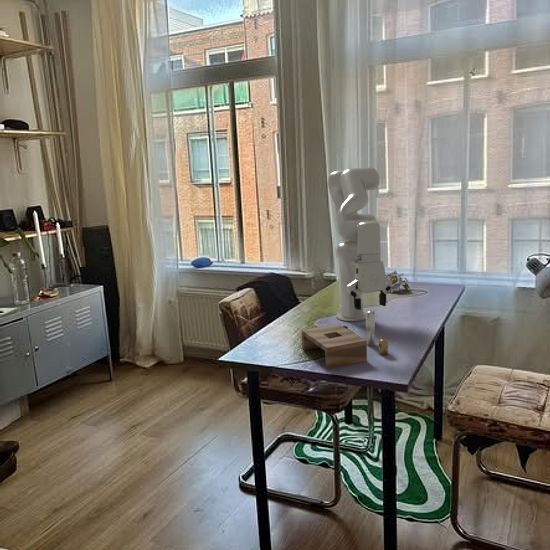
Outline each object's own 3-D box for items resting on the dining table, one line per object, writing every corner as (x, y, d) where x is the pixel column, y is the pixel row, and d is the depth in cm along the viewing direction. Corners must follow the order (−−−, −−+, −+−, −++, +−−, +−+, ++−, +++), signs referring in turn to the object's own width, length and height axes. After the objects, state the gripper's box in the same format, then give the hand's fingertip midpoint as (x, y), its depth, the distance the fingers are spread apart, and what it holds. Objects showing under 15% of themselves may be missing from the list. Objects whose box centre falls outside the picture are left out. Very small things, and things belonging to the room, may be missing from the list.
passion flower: (392, 303, 255) (377, 284, 254) (395, 293, 264) (380, 275, 263) (411, 292, 249) (396, 272, 248) (414, 282, 258) (399, 263, 257)
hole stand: (302, 349, 184) (301, 330, 183) (338, 342, 189) (337, 323, 187) (327, 368, 166) (326, 347, 164) (366, 361, 170) (366, 340, 169)
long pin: (364, 343, 186) (364, 311, 184) (372, 342, 187) (371, 309, 185) (369, 346, 184) (368, 313, 181) (376, 344, 184) (376, 311, 182)
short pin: (377, 353, 177) (376, 339, 176) (384, 351, 178) (384, 337, 177) (381, 356, 174) (381, 341, 173) (389, 354, 175) (389, 340, 174)
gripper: (351, 262, 172) (353, 313, 176) (397, 256, 178) (398, 306, 181) (341, 259, 179) (342, 308, 183) (385, 254, 185) (386, 301, 188)
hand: (370, 307), depth 182 cm, fingers open, 9 cm apart
